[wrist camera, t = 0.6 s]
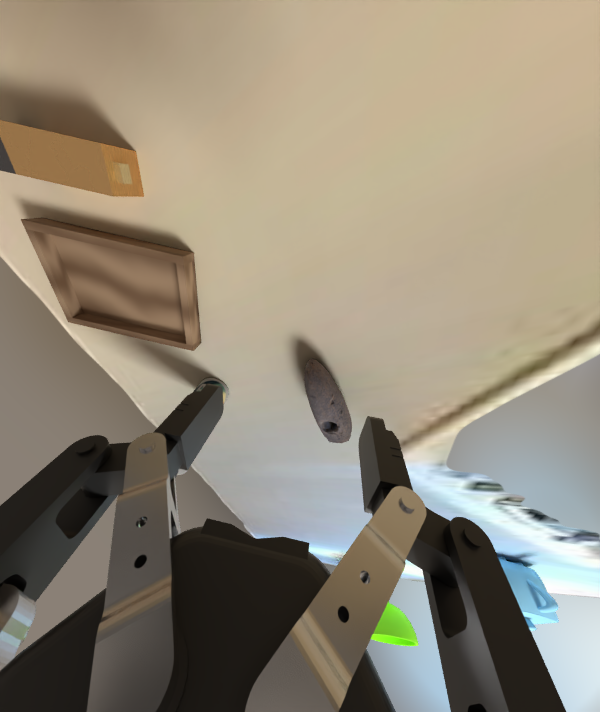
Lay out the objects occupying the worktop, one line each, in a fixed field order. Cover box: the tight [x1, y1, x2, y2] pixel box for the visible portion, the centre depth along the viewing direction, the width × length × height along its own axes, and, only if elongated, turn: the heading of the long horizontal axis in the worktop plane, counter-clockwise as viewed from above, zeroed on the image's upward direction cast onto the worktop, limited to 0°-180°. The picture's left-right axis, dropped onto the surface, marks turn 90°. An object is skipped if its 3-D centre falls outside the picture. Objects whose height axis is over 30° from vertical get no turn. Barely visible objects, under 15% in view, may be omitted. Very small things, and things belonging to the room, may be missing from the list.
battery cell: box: [0, 120, 144, 197], centre depth 24 cm, size 4×14×4 cm, turn 79°
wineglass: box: [371, 570, 418, 646], centre depth 79 cm, size 16×16×18 cm
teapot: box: [498, 557, 559, 631], centre depth 66 cm, size 18×16×14 cm
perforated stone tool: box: [305, 359, 352, 443], centre depth 36 cm, size 15×5×7 cm, turn 21°
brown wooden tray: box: [21, 218, 201, 351], centre depth 32 cm, size 14×20×2 cm
